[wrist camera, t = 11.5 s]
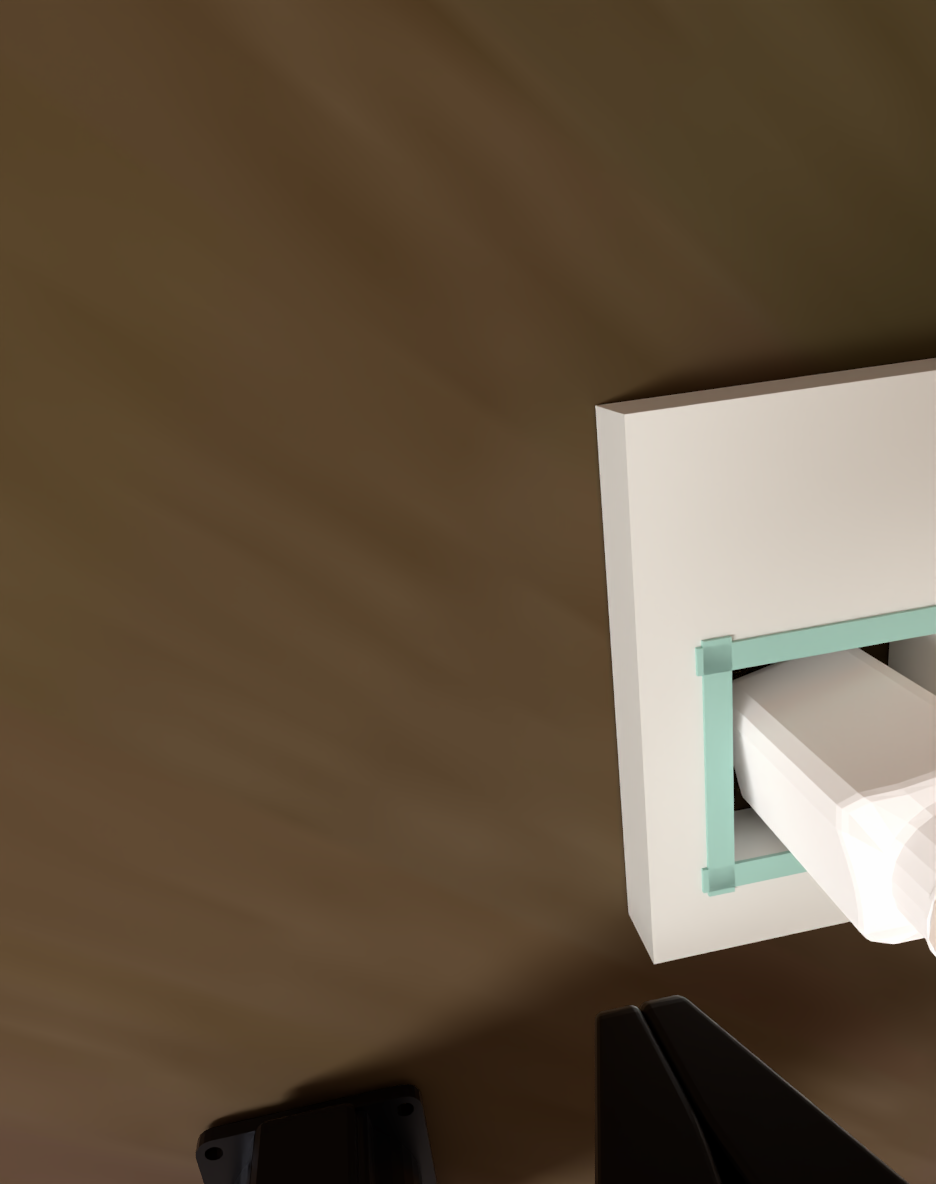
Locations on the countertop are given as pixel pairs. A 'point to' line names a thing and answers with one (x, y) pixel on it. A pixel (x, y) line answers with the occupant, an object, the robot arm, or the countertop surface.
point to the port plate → (751, 613)
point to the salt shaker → (847, 783)
